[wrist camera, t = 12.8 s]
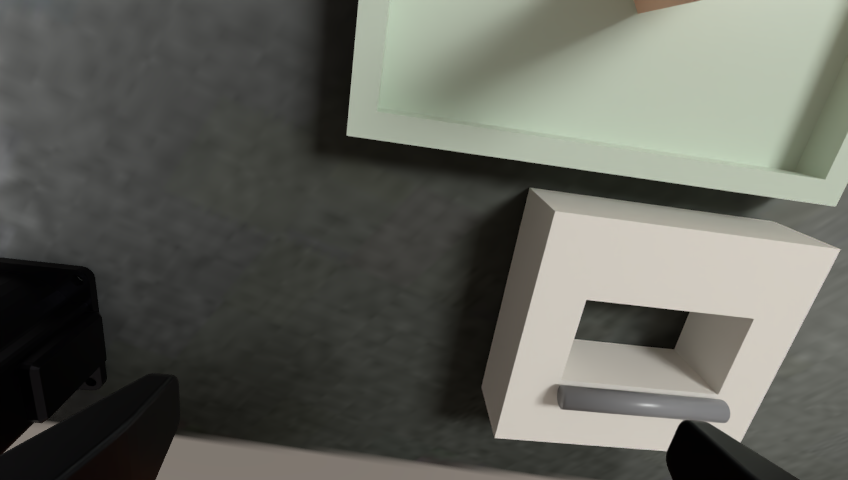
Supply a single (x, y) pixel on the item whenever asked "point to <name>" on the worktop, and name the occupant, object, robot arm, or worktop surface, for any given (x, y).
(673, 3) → the salmon pink rectangular block
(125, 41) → the worktop surface
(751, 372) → the white slotted base
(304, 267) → the worktop surface
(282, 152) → the worktop surface
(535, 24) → the tray
